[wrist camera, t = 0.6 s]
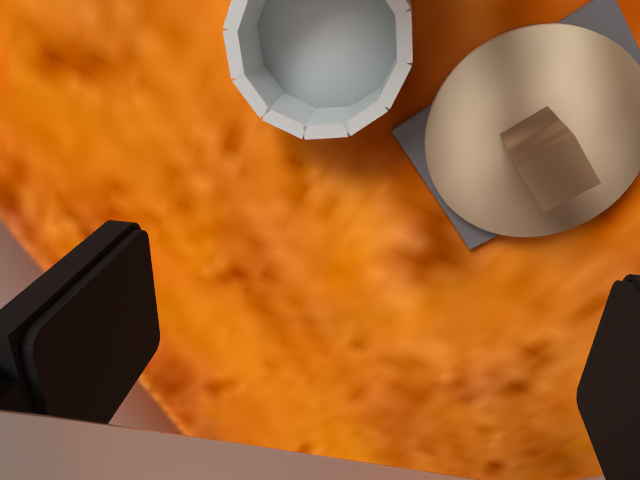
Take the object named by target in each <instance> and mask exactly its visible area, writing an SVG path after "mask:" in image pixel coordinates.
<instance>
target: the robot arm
mask: <svg viewBox="0 0 640 480" xmlns="http://www.w3.org/2000/svg"><path fill="white" fill-rule="evenodd" d="M159 341H160V330H159V321H158V313H157V305H156V296H155V288H154V279H153V271H152V262H151V254H150V246H149V238H148V234H147V232H146V231H145V230H141V228H140V226H139V225H138V224H137V223H133V222H123V221H114V220H109V221H107V222H105V223H104V224H103V225H102V226H101V227H99V228H98V229H97V230H96V231H94V232H93V233H92V234H91V235H90V236H88V237H87V238H86V239H85V240H84V241H82V242H81V243H80V244H79V245H78V246H76V247H75V248H74V249H73V250H72V251H70V252H69V253H68V254H67V255H65V256H64V257H63V258H62V259H61V260H59V261H58V262H57V263H56V264H55V265H53V266H52V267H51V268H50V269H49V270H47V271H46V272H45V273H44V274H43V275H41V276H40V277H39V278H38V279H37V280H35V281H34V282H33V283H32V284H30V285H29V286H28V287H27V288H26V289H25V290H23V291H22V292H21V293H20V294H18V295H17V296H16V297H15V298H14V299H12V300H11V301H10V302H9V303H8V304H6V305H5V306H4V307H3V308H1V309H0V480H479V479H472V478H465V477H459V476H452V475H445V474H439V473H432V472H425V471H419V470H412V469H405V468H399V467H392V466H385V465H379V464H372V463H365V462H359V461H352V460H345V459H339V458H332V457H325V456H319V455H312V454H305V453H299V452H292V451H286V450H279V449H272V448H266V447H259V446H252V445H246V444H239V443H233V442H226V441H219V440H213V439H206V438H199V437H193V436H186V435H179V434H172V433H166V432H158V431H152V430H145V429H138V428H131V427H124V426H117V425H110V424H108V423H109V421H110V420H111V418H112V417H113V415H114V414H115V412H116V411H117V409H118V408H119V406H120V405H121V403H122V402H123V400H124V399H125V397H126V396H127V394H128V393H129V391H130V390H131V388H132V387H133V385H134V384H135V382H136V381H137V379H138V378H139V376H140V375H141V373H142V372H143V370H144V369H145V367H146V366H147V364H148V363H149V361H150V360H151V358H152V357H153V355H154V354H155V352H156V351H157V348H158V346H159ZM577 405H578V409H579V411H580V414H581V417H582V419H583V422H584V424H585V427H586V430H587V432H588V435H589V437H590V440H591V443H592V445H593V448H594V450H595V453H596V456H597V458H598V461H599V464H600V466H601V469H602V471H603V474H604V477H605V479H606V480H640V275H632V274H629V275H627V276H626V277H625V278H624V279H623V281H618V280H617V281H615V282H614V284H613V286H612V288H611V291H610V294H609V297H608V300H607V302H606V305H605V308H604V311H603V314H602V317H601V320H600V323H599V326H598V329H597V332H596V335H595V338H594V341H593V344H592V347H591V350H590V353H589V356H588V359H587V362H586V365H585V368H584V371H583V374H582V377H581V380H580V383H579V385H578V389H577Z"/></svg>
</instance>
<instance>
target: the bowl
mask: <svg viewBox="0 0 640 480" xmlns="http://www.w3.org/2000/svg"><path fill="white" fill-rule="evenodd" d="M223 28H225V29H227V30H224V31H223V35H224V41H225V46H226V52H227V58H228V63H229V69H230V75H231V78H236V79H235V80H234V81H232V82H233V83H234V84H235V86H236V87H237V88H238V90H239V91H240V92H241V94H242V95H243V96H244V98H245V99H246V100H247V102H248V103H249V104H250V106H251V107H252V108H253V110H254V111H255V112H256V114H257V115H258V116H259V118H261V117H262V116H264V117H263V121H265V122H267V123H269V124H271V125H273V126H275V127H277V128H280V129H282V130H284V131H286V132H288V133H290V134H292V135H294V136H296V137H298V138H300V139H302V138H303V137H304V138H305V140H309V139H325V138H341V137H348V135H349V134H350V136H352V135H353V134H355V133H356V132H358V131H359V130H361V129H362V128H364V127H365V126H367V125H368V124H370V123H371V122H373V121H374V120H376V119H377V118H379V117H380V116H382V115H383V114H385V113H386V112H388V108H389V109H390V108H391V106H392V104H393V102H394V100H395V98H396V96H397V94H398V92H399V91H400V89H401V87H402V85H403V83H404V81H405V79H406V77H407V75H408V73H409V71H410V69H411V67H412V63H413V32H412V5H411V1H410V0H232V1H231V4H230V7H229V10H228V13H227V16H226V20H225V23H224V26H223Z"/></svg>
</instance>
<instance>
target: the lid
mask: <svg viewBox="0 0 640 480" xmlns="http://www.w3.org/2000/svg"><path fill="white" fill-rule="evenodd" d="M425 154H426V162H427V166H428V170H429V174H430V176H431V179H432V181H433V184H434V186H435V187H436V189H437V191H438V193H439V194H440V196H441V197H442V198H443V200H444V201H445V202H446V204H447V205H448V206H449V207H450V208H451V209H452V210H453V211H454V212H455V213H456V214H458V215H459V216H460V217H462V218H463V219H464V220H466V221H467V222H469V223H471V224H473V225H475V226H476V227H479V228H481V229H484V230H486V231H489V232H492V233H496V234H500V235H505V236H512V237H538V236H546V235H551V234H556V233H559V232H563V231H566V230H569V229H572V228H574V227H576V226H579V225H581V224H583V223H585V222H587V221H589V220H590V219H592V218H594V217H596V216H597V215H599V214H600V213H602V212H603V211H604V210H606V209H607V208H608V207H610V206H611V205H612V204H613V203H614V202H615V201H616V200H618V199H619V198H620V197H621V195H622V194H623V193H624V192H625V191H626V190H627V189H628V188H629V187H630V185H631V184H632V182H633V181H634V180H635V178H636V177H637V175H638V174H639V172H640V66H639V65H638V63H637V62H636V61H635V60H634V59H633V57H632V56H631V55H630V54H629V53H628V52H627V51H626V50H624V49H623V48H622V47H621V46H620V45H619V44H617V43H615V42H614V41H612V40H611V39H609V38H607V37H606V36H603V35H601V34H599V33H596V32H594V31H591V30H589V29H586V28H582V27H578V26H574V25H570V24H560V23H539V24H533V25H527V26H522V27H518V28H515V29H512V30H508V31H506V32H504V33H501V34H499V35H497V36H494V37H492V38H491V39H489V40H487V41H485V42H484V43H482V44H480V45H479V46H477V47H476V48H475V49H473V50H472V51H471V52H470V53H468V54H467V55H466V56H465V57H464V58H463V59H462V60H461V61H460V62H459V63H457V64H456V65H455V67H454V68H453V69H452V70H451V72H450V73H449V74H448V75H447V76H446V78H445V79H444V81H443V83H442V84H441V86H440V87H439V89H438V91H437V93H436V95H435V97H434V99H433V101H432V104H431V107H430V110H429V113H428V117H427V122H426V128H425Z"/></svg>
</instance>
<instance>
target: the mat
mask: <svg viewBox="0 0 640 480" xmlns="http://www.w3.org/2000/svg"><path fill="white" fill-rule="evenodd" d="M557 23H560V24H570V25H574V26H578V27H582V28H586V29H589V30H591V31H594V32H596V33H599V34H601V35H603V36H606V37H607V38H609V39H611V40H612V41H614V42H615V43H617V44H619V45H620V46H621V47H622V48H623V49H624V50H626V51H627V52H628V53H629V54H630V55H631V56H632V57H633V59H634V60H635V61H636V62H637V63H638V65H639V66H640V50H639V48H638V46H637V44H636V42H635V39H634V37H633V35H632V33H631V31H630V29H629V27H628V25H627V23H626V21H625V19H624V17H623V14H622V12H621V10H620V8H619V6H618V4H617V2H616V0H591V1H590V2H588V3H587V4H585V5H584V6H582V7H580V8H579V9H577V10H576V11H574V12H573V13H571V14H570V15H568V16H567V17H565V18H563V19H562V20H560V21H559V22H557ZM430 107H431V104H430V105H429V106H427V107H426V108H424V109H422V110H421V111H419V112H418V113H416V114H415V115H413V116H412V117H410V118H408V119H407V120H405V121H404V122H402V123H401V124H399V125H398V126H396V127H395V128H393V129H392V133H393V135H394V136H395V138H396V139H397V141H398V142H399V144H400V145H401V147H402V148H403V150H404V151H405V153H406V154H407V156H408V157H409V159H410V160H411V162H412V163H413V165H414V166H415V168H416V169H417V171H418V172H419V174H420V175H421V177H422V178H423V180H424V181H425V183H426V184H427V186H428V187H429V189H430V190H431V192H432V193H433V195H434V196H435V198H436V199H437V201H438V202H439V204H440V205H441V207H442V208H443V210H444V211H445V213H446V214H447V216H448V217H449V219H450V220H451V222H452V223H453V225H454V226H455V228H456V229H457V231H458V232H459V234H460V235H461V237H462V238H463V240H464V241H465V243H466V244H467V246H468V247H469V249H472V248H474V247H476V246H478V245H480V244H482V243H484V242H486V241H488V240H490V239H492V238H494V237H496V236H498V235H500V234H496V233H492V232H489V231H486V230H484V229H481V228H479V227H476V226H475V225H473V224H471V223H469V222H467V221H466V220H464V219H463V218H462V217H460V216H459V215H458V214H456V213H455V212H454V211H453V210H452V209H451V208H450V207H449V206H448V205H447V204H446V202H445V201H444V200H443V198H442V197H441V196H440V194H439V193H438V191H437V189H436V187H435V186H434V184H433V181H432V179H431V176H430V174H429V170H428V166H427V162H426V154H425V128H426V122H427V117H428V113H429V110H430Z"/></svg>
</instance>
